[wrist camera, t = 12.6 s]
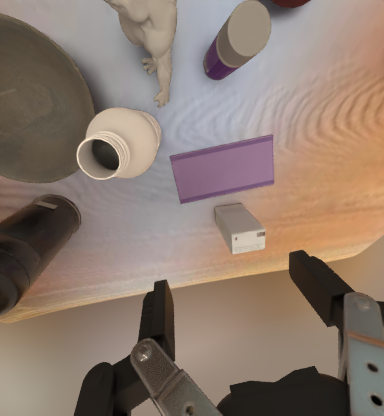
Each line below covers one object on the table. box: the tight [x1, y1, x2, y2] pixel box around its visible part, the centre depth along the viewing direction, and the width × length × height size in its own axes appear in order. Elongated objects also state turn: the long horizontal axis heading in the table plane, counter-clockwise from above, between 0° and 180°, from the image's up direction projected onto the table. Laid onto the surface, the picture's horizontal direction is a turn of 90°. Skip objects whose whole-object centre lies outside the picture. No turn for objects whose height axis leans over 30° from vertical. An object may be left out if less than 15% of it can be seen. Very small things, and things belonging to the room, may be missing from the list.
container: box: [203, 0, 271, 80], centre depth 27 cm, size 5×5×15 cm
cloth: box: [170, 135, 274, 204], centre depth 41 cm, size 20×10×1 cm, turn 101°
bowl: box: [0, 14, 96, 183], centre depth 30 cm, size 19×19×10 cm
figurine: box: [104, 0, 177, 108], centre depth 24 cm, size 18×7×18 cm, turn 8°
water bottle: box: [77, 107, 161, 180], centre depth 26 cm, size 7×7×25 cm
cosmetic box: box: [215, 204, 265, 254], centre depth 40 cm, size 6×4×12 cm
